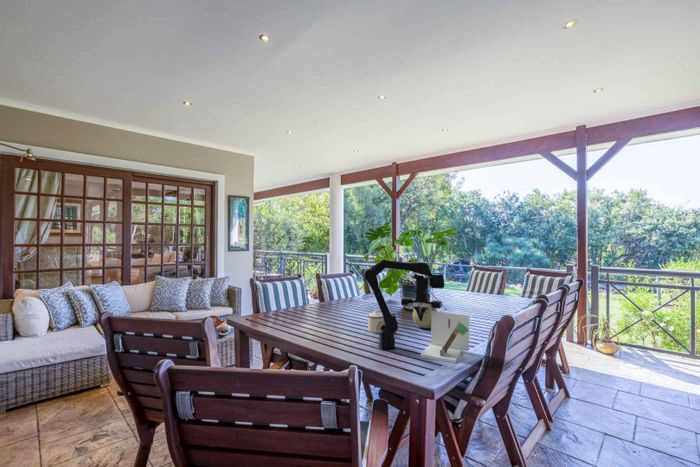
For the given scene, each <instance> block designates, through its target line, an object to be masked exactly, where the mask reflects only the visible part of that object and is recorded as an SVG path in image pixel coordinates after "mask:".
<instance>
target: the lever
mask: <svg viewBox="0 0 700 467" xmlns="http://www.w3.org/2000/svg"><path fill="white" fill-rule="evenodd" d="M459 331H460V330H459V329H458V328H455V329H454V331H453V332H452V334H451V336H450V337H449V339H448V341H447V342H446V344H445V345H444V347H443V349H442V350H445V353H446V352H447V350H448V349H449V347H450V345H451V344H452V342H453V341H454V339H455V337H456V336H457V334H458V333H459Z"/></svg>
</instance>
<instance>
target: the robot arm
mask: <svg viewBox="0 0 700 467" xmlns="http://www.w3.org/2000/svg"><path fill="white" fill-rule="evenodd" d="M385 269H393V270H401V271H410V272H412V273H414V275H413V276H411V279H413V280H415V290H414V293H415V299H413V298H412V297H404V298H402V299H401V302H400V305H402V306H408V305H410V304H411V305H412V308H414V309H415V310H416V312H417V314H418V317H419V319H420V321H422V320H423V317H424V314H425V312H426V310H427V309H428V308H430V306H432V308H436V309H439V310H440V309H441V308H443V301H442V300H436V299H433V300H432V301H431V293H429V289H428V288H429V287H430V289H439V290H440V289H441V290H442V289H444V288H445V279H444V274H441V273H440V274H433V273H432V271H431V270H430V266H429V265H428V263H426V262H423V261H415V262H414V261H412V262H407V261H397V260H389V259H388V260H387V259H384V258H382V259H380V261H378V262H377V263H376V264H374V265H373V266H371V267H369V268H366V269H365V270H364V271H363V277H364V278H365V280H366V282H367V283H368V285H369V287H370V288H371V290H372V292H373V295H374V297H375V299H376V303H377V304H378V308H379V309H380V312H381V314H382V316H383V321H384V325H383V326H382V327H380V331H381V333H379V344H378V345H377V346H378V347H379V348H380V349H381V350H382V351H384V350H395V349H396V347H395V345H396V341H395V340H396V338H395V333H396V332H397V331H398V329H399V326H398V325H399V322H398V320H397V318H396V315H395V313H392V314H391V312H390V309H389V307H388V305H387V302H386V301H385V297H384V295H383V293H382V292H383V291H382V290H381V287H380V286H379V279H378V275H379V274H380V273H382V272H383V271H384V270H385ZM418 274H419V275H418ZM425 276H426V277H425ZM422 305H423V307H421V306H422Z"/></svg>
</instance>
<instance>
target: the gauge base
mask: <svg viewBox="0 0 700 467" xmlns="http://www.w3.org/2000/svg"><path fill="white" fill-rule="evenodd" d="M455 328H458V329H459V330H460V331H459V333H458V334H457V336H456V337H455V339H454V341H453V342H452V344H451V345H450V347H449V349H448V350H447V352H446V353H445V350H442V349H443V347H444V345H445V344H446V342H447V341H448V339H449V337H450V336H451V334H452V332H453V331H454V329H455ZM430 330H431V331H430V343H429V345H428V346H427V347H426V348H425V349H424V350H423V351H422V352H421V353H420V358H422V359H423V358H424V359H429V360H436V361H441V362H447V363H452V364H456V363H457V361H458V360H459V359H460V356H461V354H462V353H463V350H466V351H470V314H462V313H452V312H444V311H443V312H442V311H437V312H436V311H431V328H430Z"/></svg>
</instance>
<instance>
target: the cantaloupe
mask: <svg viewBox="0 0 700 467" xmlns="http://www.w3.org/2000/svg"><path fill="white" fill-rule="evenodd" d="M421 307H423V305H422V306H421ZM431 311H436V312H438V310H437V308H432V306H430V308H428V309H427V310H426V312H425V314H424V317H423V320H422V321H420V319H419V317H418V314H417V312H416V310H415V308H414V309H413V311H412V319H413V321H414V323H415V324H416V326H418V327H419V328H422V329H431Z"/></svg>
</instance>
